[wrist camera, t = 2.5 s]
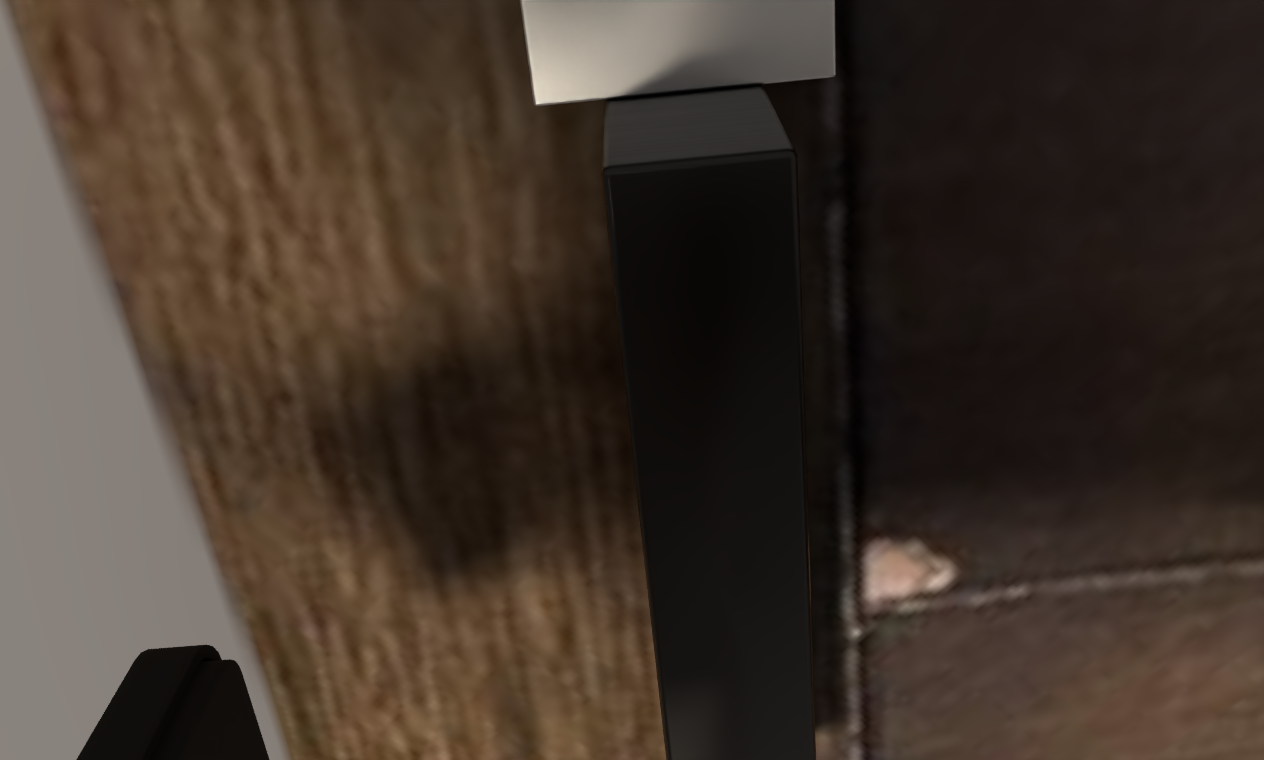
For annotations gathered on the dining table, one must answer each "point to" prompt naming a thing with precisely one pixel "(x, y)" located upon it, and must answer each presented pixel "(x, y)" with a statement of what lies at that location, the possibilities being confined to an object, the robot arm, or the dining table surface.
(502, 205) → the dining table surface
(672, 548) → the knife
